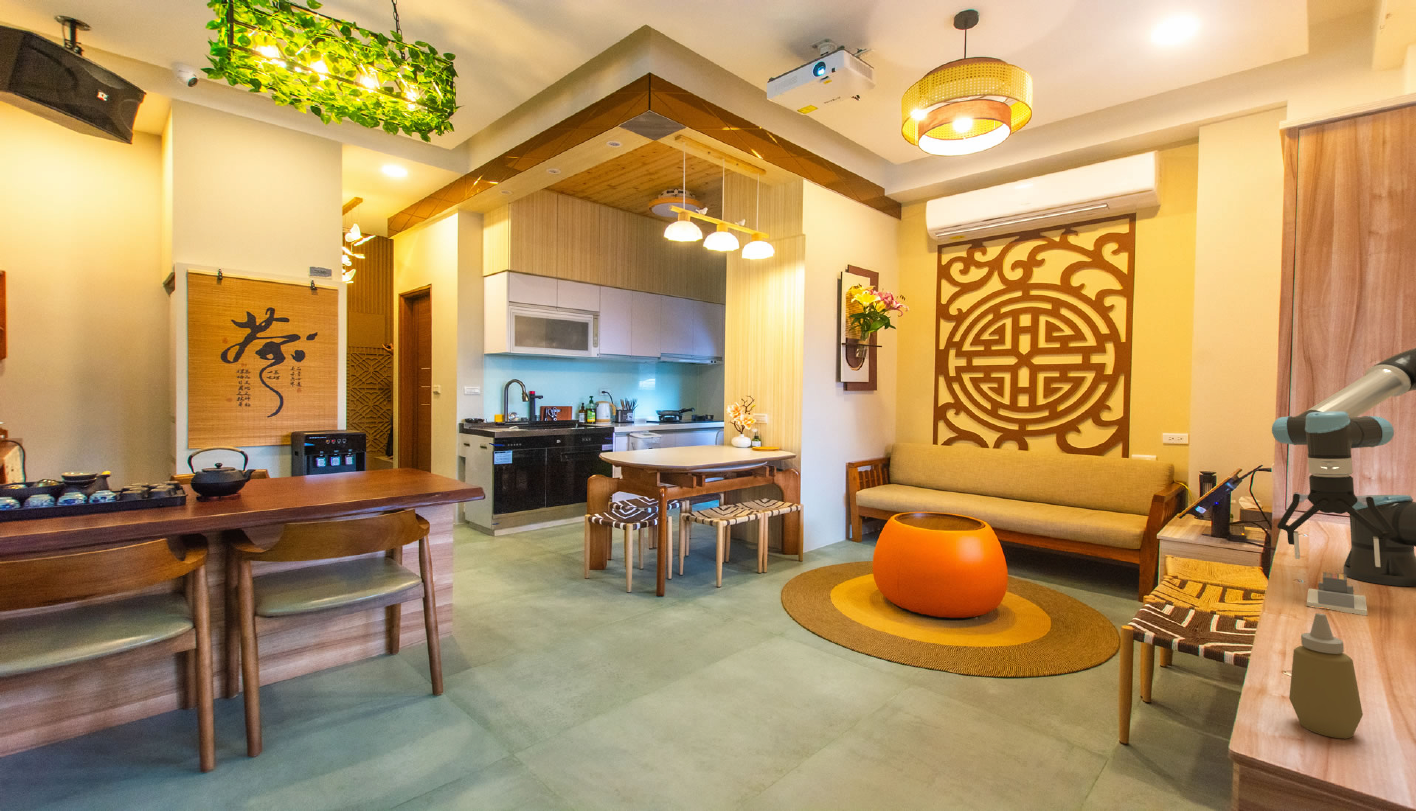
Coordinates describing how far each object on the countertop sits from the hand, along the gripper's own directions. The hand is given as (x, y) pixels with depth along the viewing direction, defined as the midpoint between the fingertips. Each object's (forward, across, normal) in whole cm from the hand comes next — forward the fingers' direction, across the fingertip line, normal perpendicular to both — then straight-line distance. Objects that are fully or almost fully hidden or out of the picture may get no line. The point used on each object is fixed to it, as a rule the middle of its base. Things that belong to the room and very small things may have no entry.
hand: (1336, 561), depth 148 cm
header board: (+11, 0, +1) cm, 11 cm away
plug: (+9, 0, -1) cm, 9 cm away
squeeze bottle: (+9, -2, -78) cm, 79 cm away
